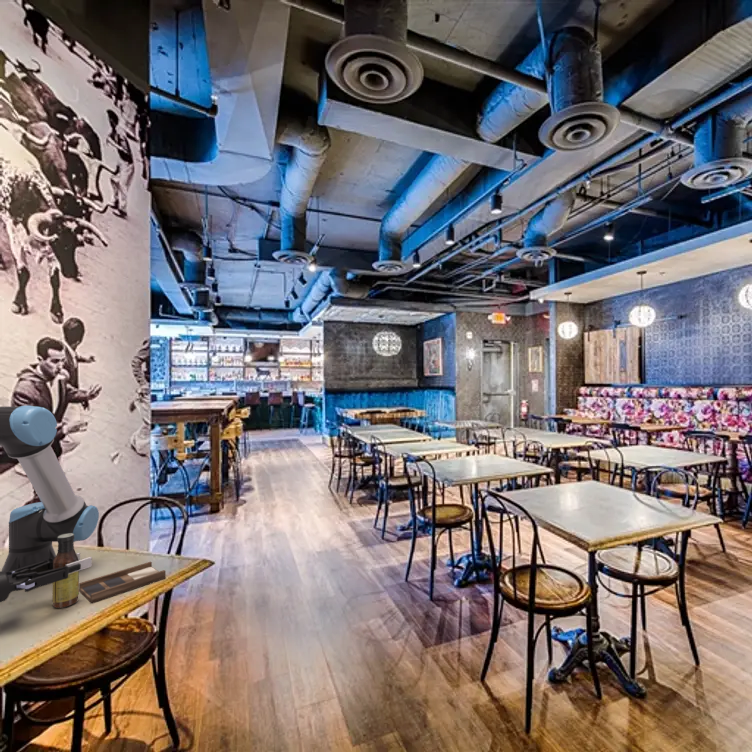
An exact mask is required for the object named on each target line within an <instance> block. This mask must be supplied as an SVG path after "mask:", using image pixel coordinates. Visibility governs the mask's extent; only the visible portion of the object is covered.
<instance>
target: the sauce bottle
mask: <svg viewBox="0 0 752 752" xmlns="http://www.w3.org/2000/svg"><path fill="white" fill-rule="evenodd" d="M56 543H57V553H56V557H55V558H54V560H53V569H56V568H60V567H64V566H66V565H67V564H70V563H73V562H76V561H79V559H78V557H77V555H76V550H75V545H74V543H75V542H74V534H73V533H68V534H63V535H60V536H58V537H57V542H56ZM79 583H80V571H77V572H74V573H71V574H68V578H67V579H63V580H60V581H57V582H54V583H51V584H52V591H51V593H52V600H51V601H52V607H54V608H56V609H62V608H67V607H70V606H72V605H74V604H76V603H77V602H78V600H79V595H80V592H79Z"/></svg>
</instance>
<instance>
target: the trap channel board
mask: <svg viewBox="0 0 752 752" xmlns="http://www.w3.org/2000/svg"><path fill="white" fill-rule="evenodd" d="M152 563H153V562H152V561H149V562H145V563H144V562H143V563H142V564H138V565H135V566H132V567H128V568H125V569H122V570H119V571H115V572H112V573H108V574H104V575H102V576H98V577H94V578H91V579H87V580H85V581H81V582H79V594H81V595H82V596H83V597H85V599H86V600H87V601H88V602H90V604H95V603H97V602H101V601H103V600H106V599H109V598H113V597H115V596H118V595H122V594H124V593H127V592H130V591H134V590H136V589H139V588H141V587H145V586H147V585H150V583H151V584H154V583H156V582H160V581H162V580H164V579H166V569H165V570H160V571H159V570H158V569H156V568H154V567H153V565H152ZM153 582H154V583H153Z"/></svg>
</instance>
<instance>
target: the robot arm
mask: <svg viewBox="0 0 752 752" xmlns="http://www.w3.org/2000/svg"><path fill="white" fill-rule="evenodd" d="M56 427H58V423H57V420H56V417H55V415H54V413H52V412H51V411H50V410H49V409H47V408H45V407H42V406H36V405H35V406H33V405H21V406H0V446H1V447H3V450H4V451H5V453H6V455H7V456H8V458H12V459H17V461H18V462H19V464H20V466H21V468H22V470H23V472H24V474H25V475H26V477H27V479H28V480H29V483H30V485H32V488H33V489H34V491H35V493H36V495H37V496H38V498H39V502H33V503H29V504H25V505H22V506H19V507H16V508H14V509H13V510H11V512H10V513H9V521H8V555H7V556H6V558H5V561H4V564H3V566H2V569H1V571H0V603H1V602H5V601H7V599H8V598H9V595H11V593H12V592H15V591H16V592H19V591H23V590H24V592H25V593H28V592H31V591H32V590H33V591H34V590H35V589H37V588H40V587H44V586H48V585H50V584H52V583H54V582H57V581H60V580H63V579H67V578H68V574H71V573H74V572H77V571H79V572H80V571H82V570H85V569H88V568H92V565H93V562H92V559H93V558H92V556H89V557H85V558H83V559H81V553H80V552H77V553H76V555H77V557H78V559H79V561H76V562H73V563H70V564H67V565H66V566H64V567H60V568H56V569H53V560H54V558H55V557H56V555H57V553H56V551H55V549H54V546H53V542H55V543H58V542H57V537H58V536H60V535H63V534H68V533H73V534H74V543H75V542H79V541H80V542H81V541H86V540H88V538H90V537H91V536H92V535H93V533H94V532H95V530H96V528H97V525H98V522H99V517H100V513H99V508H98V507H97V506H95V505H92V504H91V505H87V504H86V502H85V499H84V498H83V497H82V496H80V495H77V494H75V492H74V490H73V488H72V486H71V483H70V482H69V480H68V478H67V475H66V474H65V472H64V470H63V468H62V466H61V464H60V461H59V459H58V457H57V455H56V453H55V451H54V449H53V447H52V444H53V443H54V441H55V438H56V435H57V431H58V429H57V428H56Z"/></svg>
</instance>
